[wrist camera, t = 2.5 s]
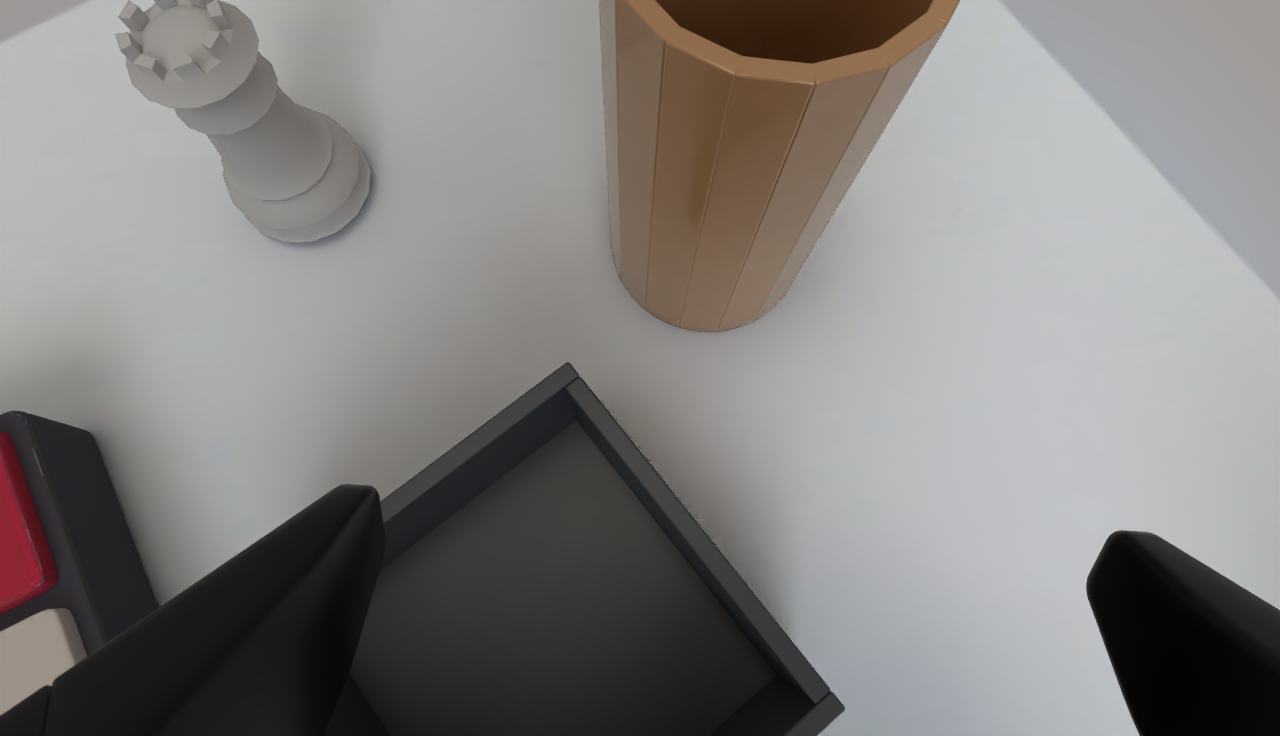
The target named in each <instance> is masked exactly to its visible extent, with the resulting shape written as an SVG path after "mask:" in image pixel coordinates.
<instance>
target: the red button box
mask: <svg viewBox="0 0 1280 736" xmlns="http://www.w3.org/2000/svg"><path fill="white" fill-rule="evenodd" d="M157 609H158V607H157V604H156V602H155V599H154V596H153V594H152V591H151V589H150V586H149V583H148V581H147V578H146V575H145V573H144V570H143V567H142V565H141V562H140V559H139V557H138V554H137V551H136V549H135V546H134V543H133V541H132V538H131V535H130V533H129V530H128V528H127V525H126V522H125V520H124V517H123V514H122V512H121V509H120V506H119V504H118V501H117V498H116V496H115V493H114V490H113V488H112V485H111V482H110V480H109V477H108V474H107V472H106V469H105V467H104V464H103V461H102V459H101V456H100V453H99V451H98V448H97V445H96V443H95V440H94V438H93V436H92V435H91V434H90V433H89V432H88V431H86V430H83V429H80V428H76V427H73V426H69V425H66V424H63V423H59V422H56V421H53V420H49V419H46V418H43V417H39V416H36V415H32V414H28V413H25V412H21V411H10V412H7V413H4V414H2V415H0V715H2V714H3V713H5V712H6V711H8V710H9V709H11V708H12V707H13V706H15V705H16V704H18V703H19V702H21V701H22V700H24V699H25V698H27V697H28V696H30V695H31V694H33V693H34V692H36V691H37V690H38V689H40V688H41V687H43V686H45V685H50V686H52V683H53V681H54V679H55V678H57V677H58V676H59V675H61V674H62V673H64V672H65V671H67V670H68V669H70V668H71V667H73V666H74V665H76V664H77V663H79V662H80V661H82V660H83V659H84V658H86V657H87V656H89V655H90V654H92V653H93V652H95V651H96V650H98V649H99V648H101V647H102V646H104V645H105V644H107V643H108V642H109V641H111V640H112V639H114V638H115V637H117V636H118V635H120V634H121V633H123V632H124V631H126V630H127V629H129V628H130V627H132V626H133V625H134V624H136V623H137V622H139V621H140V620H142V619H143V618H145V617H146V616H148V615H149V614H151V613H152V612H154V611H155V610H157Z"/></svg>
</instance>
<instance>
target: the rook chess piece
mask: <svg viewBox="0 0 1280 736" xmlns="http://www.w3.org/2000/svg"><path fill="white" fill-rule="evenodd" d="M154 1H155V2H156V4H155V5H153V6H152V7H151V8H149V9H148V10H146V11H145V12H143V11H142V10H141V9H140V8H139V7H138V6H137V5H135V4H133V3H132V2H130V1H128V2H127V4H126V5H125V7H124V8H123V10H122V11H121V13H120V14H119V16H118V17H119V18H120V19H121V20H122V22H123V23H124V24H125V25H126V26H127V27H128V28H129V29H130V30H131V31H130V34H129V33H128V32H124V33H119V34H115V36H116V39H117V42H118V45H119V48H120V51H121V52H122V53H123V54H124V55H125V56H126V57H127V58H126V66H127V69H128V72H129V75H130V79H131V82H132V85H134V86H135V87H136V88H137V89H138V90H139V91H140V92H141V93H142V94H143V95H144V96H145V97H146V98H147V99H148V100H150V101H153V102H156V103H158V104H161V105H164V106H167V107H170V108H175V111H176V114H177V116H178V117H179V118H180V119H181V120H182V121H183V122H184V123H185V124H186V125H187V126H188V127H189V128H191V129H194V130H197V131H199V132H202V133H205V134H206V135H207V136H208V138H209V139H210V140H211V142H212V143H213V145H214V146H215V148H216V149H217V151H218V152H219V153H220V155H221V156H222V159H221V162H222V165H223V168H224V171H223V177H224V180H225V183H226V185H227V188H228V191H229V194H230V197H231V199H232V201H233V203H234V205H235V206H236V207H237V208H238V209H240V210H241V211H242V212H243V213H244V214H245V217H246V218H247V219H248V220H249V221H250V222H251V223H252V224H253V225H254V226H255V227H256V228H257V229H258V230H259V231H260V232H261V233H262V234H264V235H267V236H270V237H273V238H275V239H278V240H281V241H284V242H313V241H316V240H318V239H321V238H323V237H326V236H328V235H331V234H334V233H336V232H338V231H339V230H340V229H342V228H343V227H344V226H345V225H346V224H347V223H349V222H350V221H351V220H352V219H353V218H354V217H355V216H357V215H358V213H359V211H360V209H361V207H362V205H363V203H364V201H365V199H366V197H367V196H368V194H369V185H370V167H369V165H368V162H367V160H366V157H365V155H364V152H363V150H362V148H361V147H360V146H358V145H357V144H356V143H355V142H354V141H353V139H352V137H351V135H350V134H349V133H348V132H347V131H345V130H344V129H343V128H342V127H341V126H340V125H339V124H338V123H337V122H336V121H335V120H333V119H332V118H330V117H329V116H327V115H324V114H321V113H319V112H316V111H313V110H311V109H308V108H305V107H302V106H300V105H297V104H295V103H294V102H293V101H292V100H291V99H290V98H289V97H288V96H287V95H286V94H285V93H284V92H283V91H282V90H281V89H280V88H279V86H278V85H277V77H276V75H275V72H274V69H273V67H272V64H271V63H270V62H269V61H268V60H267V59H266V58H264V57H263V56H262V55H261V54H260V53H259V52H257V51H258V42H259V39H258V37H257V34H256V32H255V29H254V26H253V24H252V21H251V20H250V19H249V18H248V17H247V16H246V15H245V14H244V13H242V12H241V11H240V10H239V9H238V8H237V7H236V6H234V5H231V4H228V3H225V2H222V1H219V0H154Z"/></svg>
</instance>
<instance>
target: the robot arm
mask: <svg viewBox="0 0 1280 736" xmlns="http://www.w3.org/2000/svg"><path fill="white" fill-rule="evenodd" d="M385 547H386V534H385V528H384V522H383V516H382V510H381V504H380V499H379V494H378V492H377V490H376V489H375V488H374V487H372V486H368V485H351V484H344V485H340V486H338V487H336V488H334V489H333V490H331V491H330V492H329V493H327V494H326V495H324V496H323V497H321V498H320V499H318V500H317V501H315V502H314V503H312V504H311V505H309V506H308V507H306V508H305V509H304V510H302V511H301V512H299V513H298V514H296V515H295V516H293V517H292V518H290V519H289V520H287V521H286V522H284V523H283V524H281V525H280V526H279V527H277V528H276V529H274V530H273V531H271V532H270V533H268V534H267V535H265V536H264V537H262V538H261V539H259V540H258V541H256V542H255V543H254V544H252V545H251V546H249V547H248V548H246V549H245V550H243V551H242V552H240V553H239V554H237V555H236V556H234V557H233V558H231V559H230V560H229V561H227V562H226V563H224V564H223V565H221V566H220V567H218V568H217V569H215V570H214V571H212V572H211V573H209V574H208V575H206V576H205V577H204V578H202V579H201V580H199V581H198V582H196V583H195V584H193V585H192V586H190V587H189V588H187V589H186V590H184V591H183V592H182V593H180V594H179V595H177V596H176V597H174V598H173V599H171V600H170V601H168V602H167V603H165V604H164V605H162V606H161V607H159V608H158V609H157V610H155V611H154V612H152V613H151V614H149V615H148V616H146V617H145V618H143V619H142V620H140V621H139V622H137V623H136V624H134V625H133V626H132V627H130V628H129V629H127V630H126V631H124V632H123V633H121V634H120V635H118V636H117V637H115V638H114V639H112V640H111V641H109V642H108V643H107V644H105V645H104V646H102V647H101V648H99V649H98V650H96V651H95V652H93V653H92V654H90V655H89V656H87V657H86V658H84V659H83V660H82V661H80V662H79V663H77V664H76V665H74V666H73V667H71V668H70V669H68V670H67V671H65V672H64V673H62V674H61V675H59V676H58V677H57V678H55V679H54V681H53V683H52V686H50V685H45V686H43V687H41V688H40V689H38V690H37V691H36V692H34V693H33V694H31V695H30V696H28V697H27V698H25V699H24V700H22V701H21V702H19V703H18V704H16V705H15V706H13V707H12V708H11V709H9V710H8V711H6V712H5V713H3V714H2V715H0V736H324V733H325V731H326V729H327V726H328V724H329V721H330V719H331V717H332V714H333V712H334V709H335V707H336V705H337V702H338V700H339V697H340V695H341V693H342V690H343V688H344V685H345V682H346V680H347V677H348V675H349V672H350V669H351V666H352V663H353V660H354V657H355V653H356V650H357V647H358V643H359V640H360V636H361V633H362V630H363V626H364V623H365V619H366V616H367V612H368V609H369V605H370V602H371V599H372V595H373V592H374V588H375V585H376V581H377V578H378V575H379V571H380V568H381V564H382V561H383V557H384V553H385ZM1086 590H1087V596H1088V600H1089V603H1090V605H1091V608H1092V611H1093V614H1094V616H1095V619H1096V622H1097V625H1098V627H1099V630H1100V633H1101V636H1102V639H1103V641H1104V644H1105V647H1106V650H1107V652H1108V655H1109V658H1110V661H1111V664H1112V666H1113V669H1114V672H1115V675H1116V677H1117V680H1118V683H1119V686H1120V688H1121V691H1122V694H1123V697H1124V699H1125V702H1126V704H1127V707H1128V709H1129V712H1130V714H1131V717H1132V719H1133V721H1134V724H1135V726H1136V728H1137V730H1138V733H1139V735H1140V736H1280V610H1278V609H1277V608H1275V607H1274V606H1272V605H1270V604H1269V603H1267V602H1265V601H1264V600H1262V599H1260V598H1259V597H1257V596H1255V595H1254V594H1252V593H1251V592H1249V591H1247V590H1246V589H1244V588H1242V587H1241V586H1239V585H1237V584H1236V583H1234V582H1233V581H1231V580H1229V579H1228V578H1226V577H1224V576H1223V575H1221V574H1219V573H1218V572H1216V571H1214V570H1213V569H1211V568H1210V567H1208V566H1206V565H1205V564H1203V563H1201V562H1200V561H1198V560H1196V559H1195V558H1193V557H1192V556H1190V555H1188V554H1187V553H1185V552H1183V551H1182V550H1180V549H1178V548H1177V547H1175V546H1174V545H1172V544H1170V543H1169V542H1167V541H1165V540H1164V539H1162V538H1160V537H1159V536H1157V535H1155V534H1152V533H1149V532H1140V531H1123V530H1121V531H1116V532H1114V533H1113V534H1111V535H1110V536H1109V537H1108V539H1107V540H1106V542H1105V544H1104V546H1103V548H1102V550H1101V552H1100V554H1099V556H1098V558H1097V560H1096V562H1095V563H1094V565H1093V567H1092V569H1091V571H1090V573H1089V575H1088V578H1087V583H1086Z"/></svg>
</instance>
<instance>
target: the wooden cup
mask: <svg viewBox="0 0 1280 736" xmlns="http://www.w3.org/2000/svg"><path fill="white" fill-rule="evenodd" d="M959 2H960V0H599V15H600V35H601V55H602V76H603V96H604V116H605V137H606V157H607V177H608V197H609V218H610V238H611V248H612V251H613V256H614V260H615V265H616V268H617V270H618V273H619V276H620V278H621V280H622V282H623V283H624V285H625V287H626V289H627V290H628V291H629V293H630V294H631V295H632V297H633V298H634V299H635V300H636V301H637V302H638V303H639V304H640V305H641V306H642V307H643V308H645V309H646V310H647V311H648V312H649V313H651V314H652V315H654V316H656V317H657V318H659V319H661V320H662V321H665V322H667V323H669V324H671V325H674V326H677V327H680V328H684V329H689V330H694V331H706V332H712V331H724V330H728V329H733V328H737V327H740V326H743V325H746V324H748V323H750V322H752V321H754V320H756V319H758V318H759V317H761V316H762V315H764V314H765V313H767V312H768V311H769V310H770V309H771V308H772V307H773V306H775V305H776V304H777V302H778V301H779V300H780V299H782V298H783V297H784V296H785V294H786V292H787V291H788V289H789V287H790V286H791V284H792V282H793V281H794V279H795V277H796V276H797V274H798V272H799V271H800V269H801V267H802V266H803V264H804V263H805V261H806V259H807V258H808V256H809V254H810V253H811V251H812V249H813V248H814V246H815V244H816V243H817V241H818V239H819V238H820V236H821V234H822V233H823V231H824V229H825V228H826V226H827V224H828V223H829V221H830V219H831V218H832V216H833V214H834V213H835V211H836V209H837V208H838V206H839V204H840V203H841V201H842V199H843V198H844V196H845V194H846V193H847V191H848V189H849V188H850V186H851V184H852V183H853V181H854V179H855V178H856V176H857V174H858V173H859V171H860V169H861V168H862V166H863V164H864V163H865V161H866V159H867V158H868V156H869V154H870V153H871V151H872V149H873V148H874V146H875V144H876V143H877V141H878V139H879V138H880V136H881V134H882V133H883V131H884V129H885V128H886V126H887V124H888V123H889V121H890V119H891V118H892V116H893V114H894V113H895V111H896V109H897V108H898V106H899V105H900V103H901V101H902V100H903V98H904V96H905V95H906V93H907V91H908V90H909V88H910V86H911V85H912V83H913V81H914V80H915V78H916V76H917V75H918V73H919V71H920V70H921V68H922V66H923V65H924V63H925V61H926V60H927V58H928V56H929V55H930V53H931V51H932V50H933V48H934V46H935V45H936V43H937V41H938V40H939V38H940V36H941V35H942V33H943V31H944V30H945V28H946V26H947V25H948V23H949V21H950V19H951V17H952V15H953V13H954V11H955V9H956V8H957V6H958V4H959Z"/></svg>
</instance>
